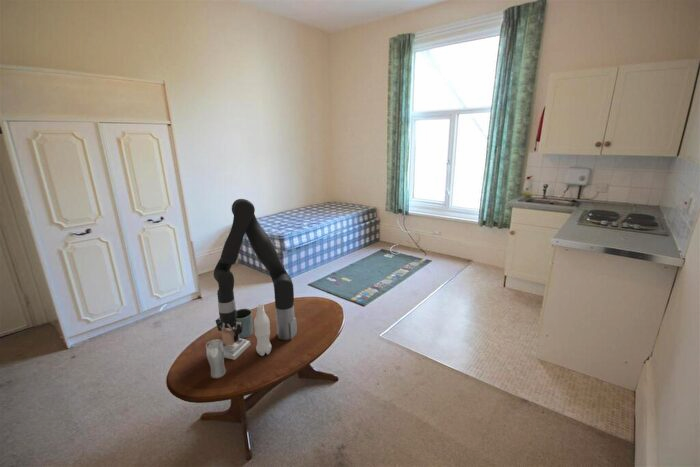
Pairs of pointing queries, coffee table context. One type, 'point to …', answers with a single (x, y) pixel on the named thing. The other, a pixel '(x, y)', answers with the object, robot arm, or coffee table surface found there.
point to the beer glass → (216, 357)
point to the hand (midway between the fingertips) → (230, 339)
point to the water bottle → (262, 331)
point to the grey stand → (235, 348)
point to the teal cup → (245, 322)
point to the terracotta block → (228, 336)
